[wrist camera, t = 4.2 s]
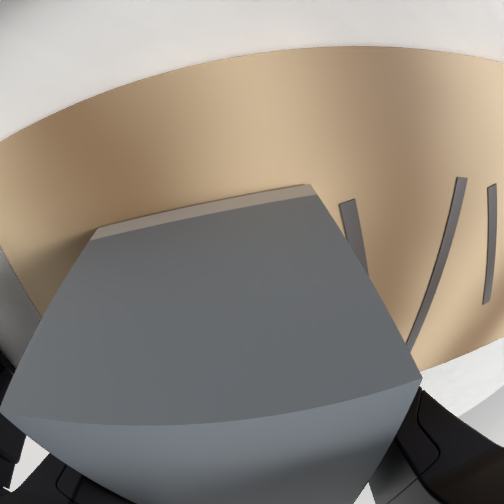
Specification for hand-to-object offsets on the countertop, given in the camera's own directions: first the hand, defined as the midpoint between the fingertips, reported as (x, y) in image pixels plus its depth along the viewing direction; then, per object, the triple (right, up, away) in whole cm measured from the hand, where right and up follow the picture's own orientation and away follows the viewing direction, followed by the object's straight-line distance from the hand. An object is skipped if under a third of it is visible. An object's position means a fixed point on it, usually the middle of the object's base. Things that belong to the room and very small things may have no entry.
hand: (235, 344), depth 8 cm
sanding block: (0, 0, 0) cm, 0 cm away
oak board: (+4, +2, +1) cm, 4 cm away
